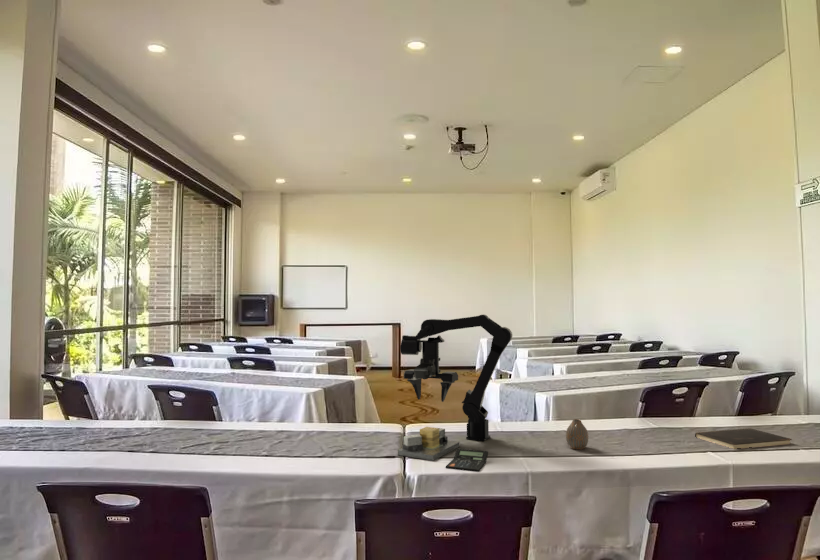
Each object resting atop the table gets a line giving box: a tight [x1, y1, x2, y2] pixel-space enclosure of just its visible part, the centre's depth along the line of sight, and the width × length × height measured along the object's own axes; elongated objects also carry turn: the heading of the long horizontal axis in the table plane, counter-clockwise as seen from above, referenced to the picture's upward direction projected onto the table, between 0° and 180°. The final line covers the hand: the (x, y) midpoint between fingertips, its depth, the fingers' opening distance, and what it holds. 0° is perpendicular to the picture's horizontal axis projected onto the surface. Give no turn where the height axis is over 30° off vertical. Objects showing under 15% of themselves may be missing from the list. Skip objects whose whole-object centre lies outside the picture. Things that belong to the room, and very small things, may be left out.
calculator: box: [445, 447, 489, 472], centre depth 157 cm, size 9×12×3 cm
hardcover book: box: [694, 427, 793, 450], centre depth 182 cm, size 16×23×2 cm
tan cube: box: [419, 426, 440, 448], centre depth 171 cm, size 5×5×5 cm
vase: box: [565, 418, 589, 451], centre depth 174 cm, size 7×7×9 cm
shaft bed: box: [397, 427, 460, 462], centre depth 171 cm, size 12×18×5 cm, turn 150°
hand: (430, 400), depth 191 cm, fingers open, 9 cm apart
